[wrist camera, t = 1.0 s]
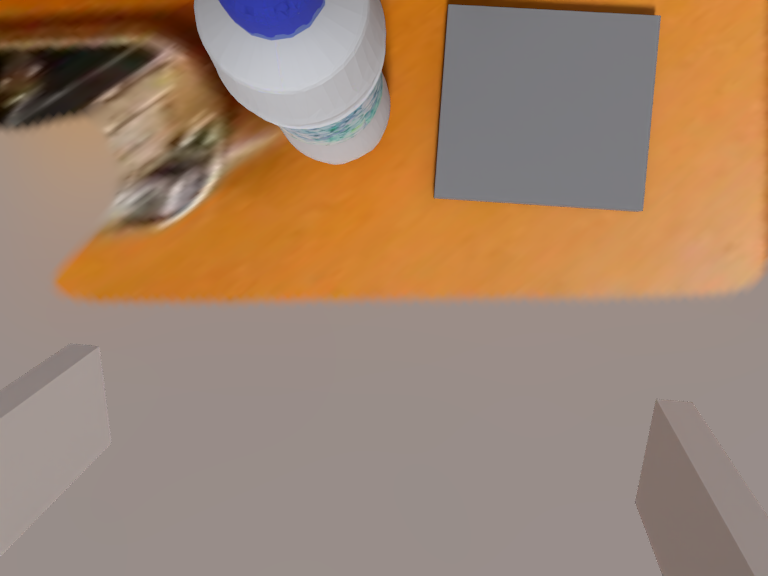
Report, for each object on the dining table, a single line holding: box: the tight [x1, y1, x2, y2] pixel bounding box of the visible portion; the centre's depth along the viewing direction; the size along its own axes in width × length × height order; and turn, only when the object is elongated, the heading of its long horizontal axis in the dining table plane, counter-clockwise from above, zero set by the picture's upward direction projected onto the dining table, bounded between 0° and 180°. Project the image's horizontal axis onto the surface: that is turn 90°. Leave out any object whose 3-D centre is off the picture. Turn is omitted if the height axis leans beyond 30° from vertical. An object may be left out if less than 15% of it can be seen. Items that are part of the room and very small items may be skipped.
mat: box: [434, 4, 661, 212], centre depth 36 cm, size 11×12×1 cm
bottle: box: [194, 0, 390, 164], centre depth 27 cm, size 7×7×20 cm
